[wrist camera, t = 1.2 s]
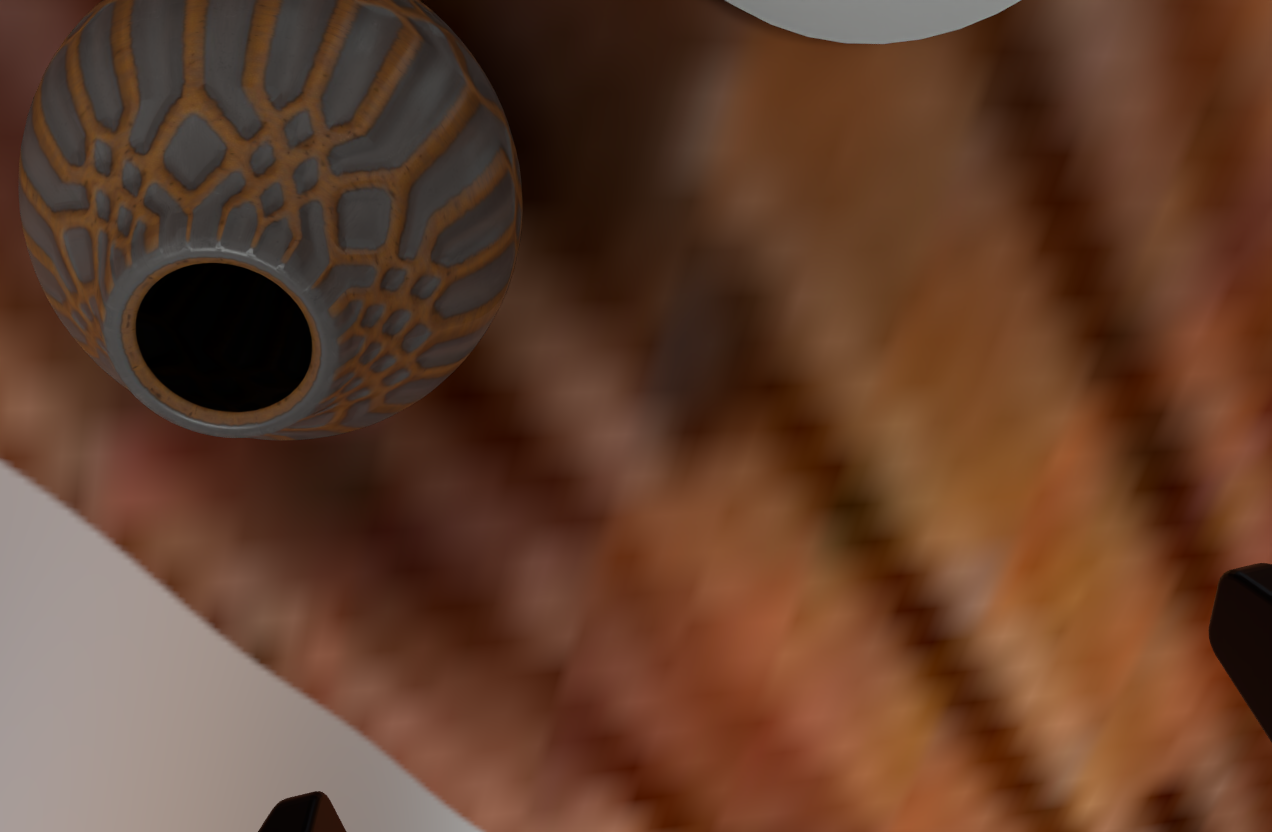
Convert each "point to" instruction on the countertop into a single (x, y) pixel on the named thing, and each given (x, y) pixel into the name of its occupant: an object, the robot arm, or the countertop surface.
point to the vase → (270, 207)
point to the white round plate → (872, 17)
